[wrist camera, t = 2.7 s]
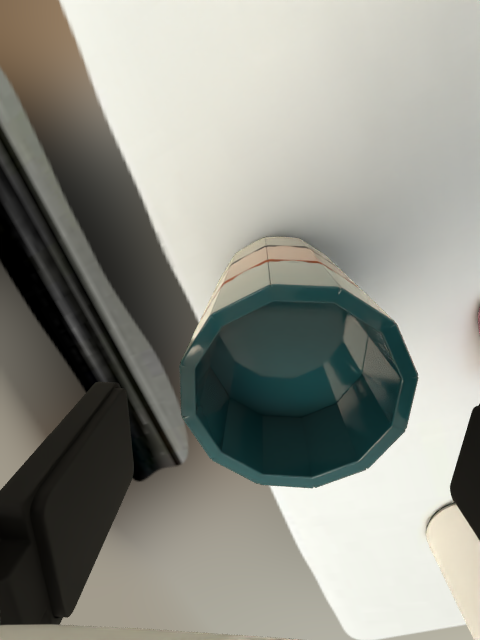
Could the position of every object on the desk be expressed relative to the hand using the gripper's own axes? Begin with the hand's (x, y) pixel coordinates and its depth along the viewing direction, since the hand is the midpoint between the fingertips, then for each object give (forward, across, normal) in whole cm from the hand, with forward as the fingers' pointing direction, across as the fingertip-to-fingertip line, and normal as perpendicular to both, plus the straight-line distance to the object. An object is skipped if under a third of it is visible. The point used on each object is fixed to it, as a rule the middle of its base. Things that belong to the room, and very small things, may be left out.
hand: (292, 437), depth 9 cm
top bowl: (+7, 0, 0) cm, 7 cm away
